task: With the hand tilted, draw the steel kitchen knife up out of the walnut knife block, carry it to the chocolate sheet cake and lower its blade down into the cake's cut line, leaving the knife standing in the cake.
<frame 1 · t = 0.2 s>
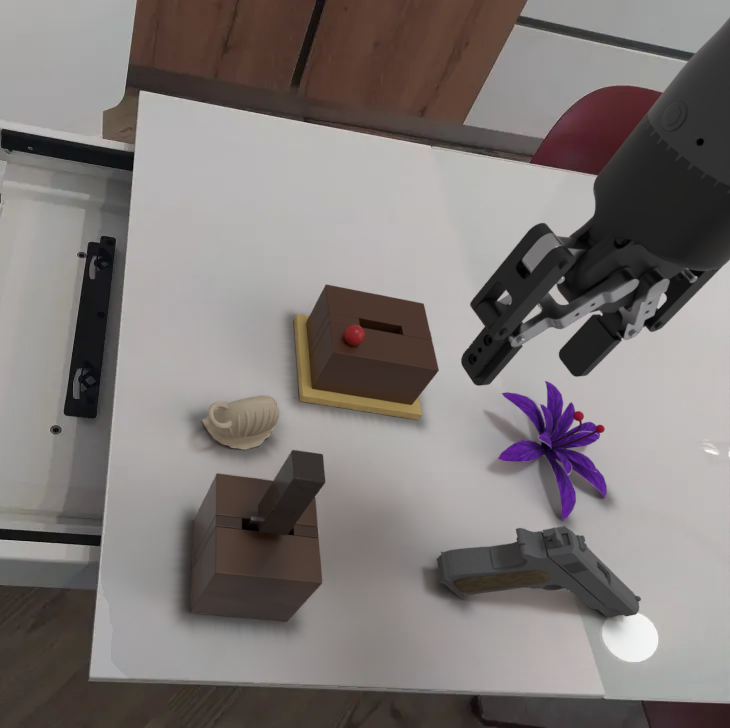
hand: (523, 370, 46), 26 cm above the table, tool pointing down, fingers open, 8 cm apart
decorative ornament: (234, 431, 69), on the table
handgun: (525, 595, 67), on the table
knife: (270, 523, 55), in the knife block
decorative flower: (541, 456, 79), on the table
cake: (354, 368, 79), on the table
knife block: (239, 569, 61), on the table
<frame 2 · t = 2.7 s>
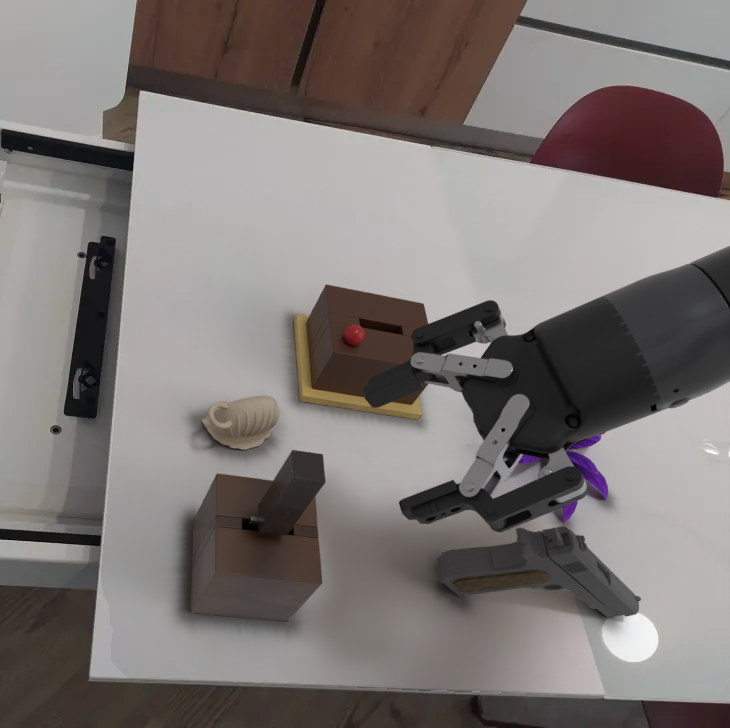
hand: (384, 452, 49), 18 cm above the table, tool tilted 45°, fingers open, 8 cm apart
nothing on the table moved.
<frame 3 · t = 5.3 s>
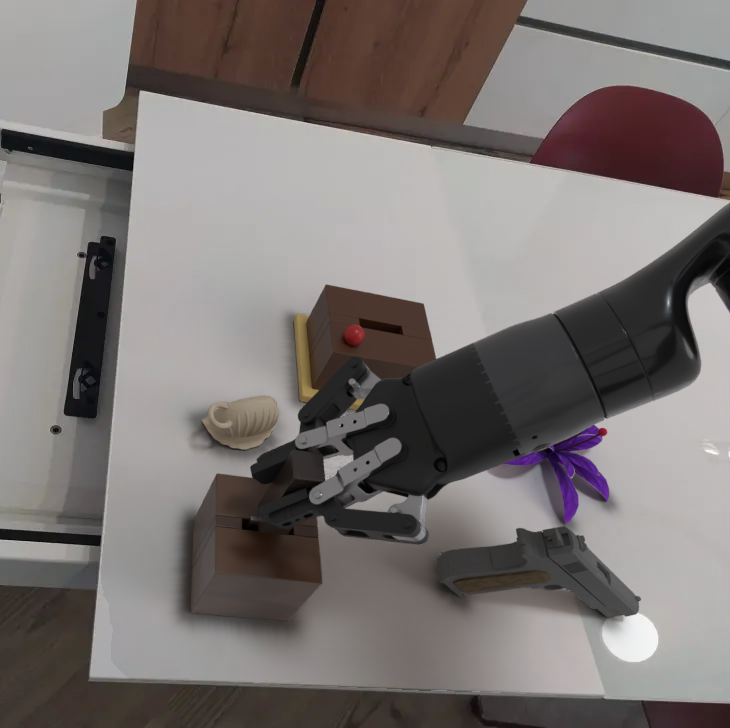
hand: (261, 496, 50), 13 cm above the table, tool tilted 45°, fingers closed on knife, 2 cm apart
knife: (270, 523, 55), in the knife block, touching gripper
everything else where it was.
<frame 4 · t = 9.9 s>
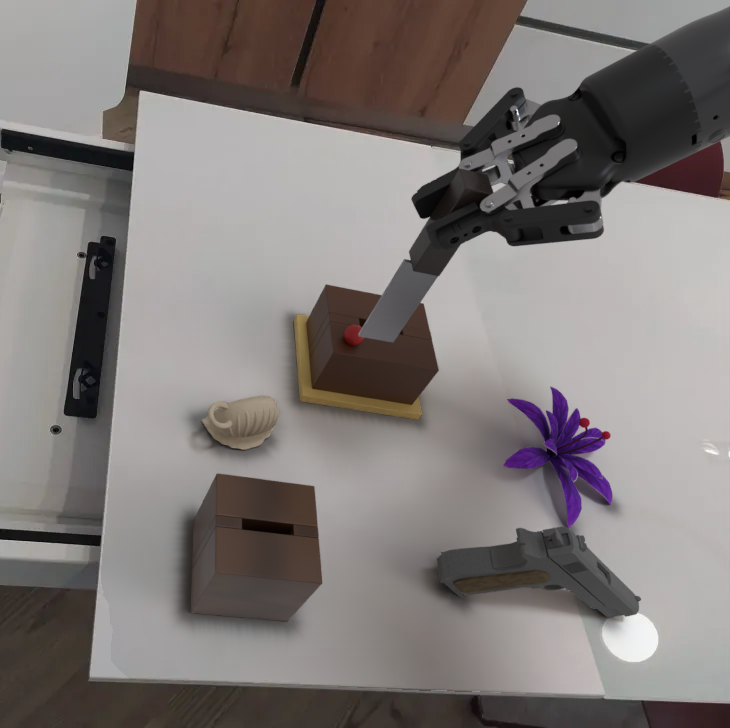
hand: (423, 223, 52), 26 cm above the table, tool tilted 45°, fingers closed on knife, 2 cm apart
knife: (420, 268, 56), point 22 cm above the table, touching gripper
everything else where it was.
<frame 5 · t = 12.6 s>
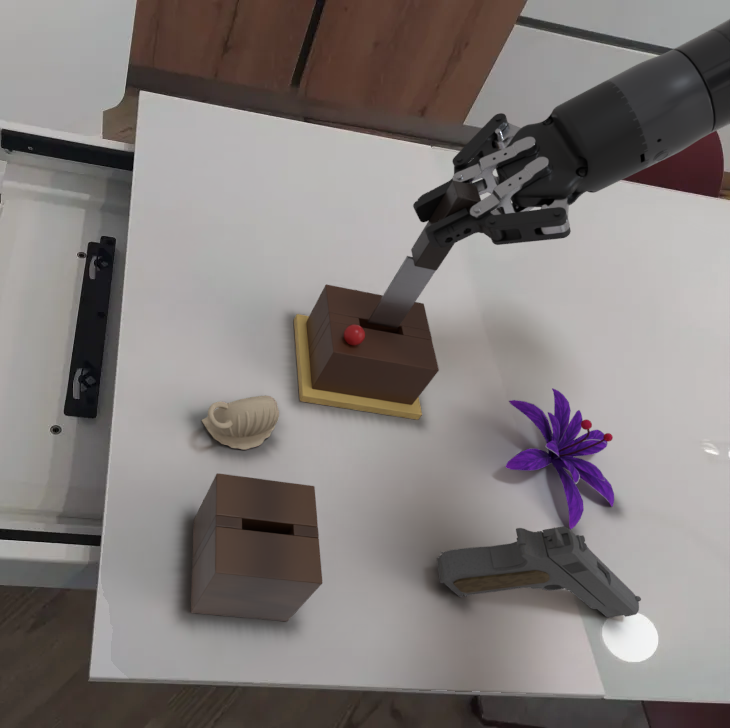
hand: (423, 226, 63), 20 cm above the table, tool tilted 45°, fingers closed on knife, 2 cm apart
knife: (421, 264, 67), point 16 cm above the table, touching gripper
when the fingers open (14 cm above the table, at t = 14.5 s): knife stays where it is, resting on cake.
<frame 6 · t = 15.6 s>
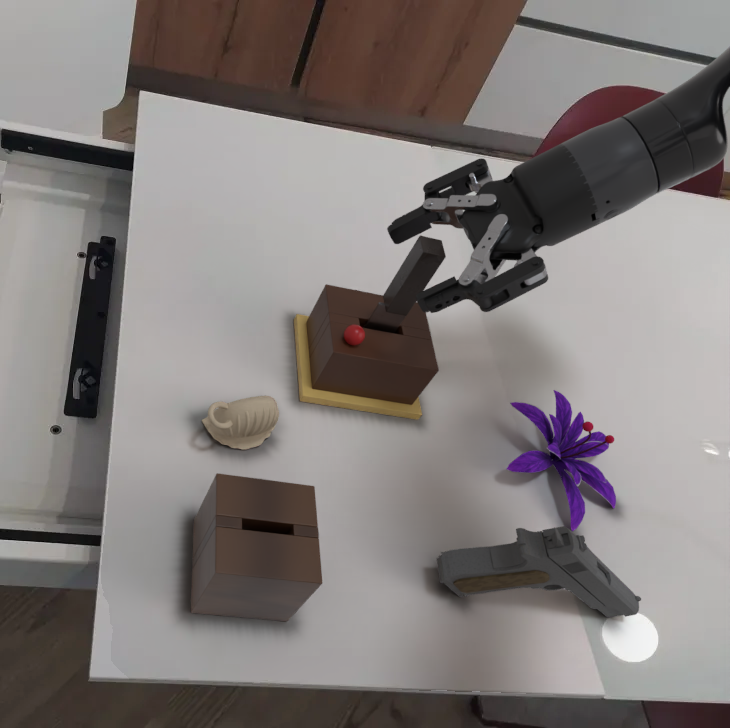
hand: (404, 269, 67), 15 cm above the table, tool tilted 45°, fingers open, 8 cm apart
knife: (392, 309, 71), point 10 cm above the table, touching cake
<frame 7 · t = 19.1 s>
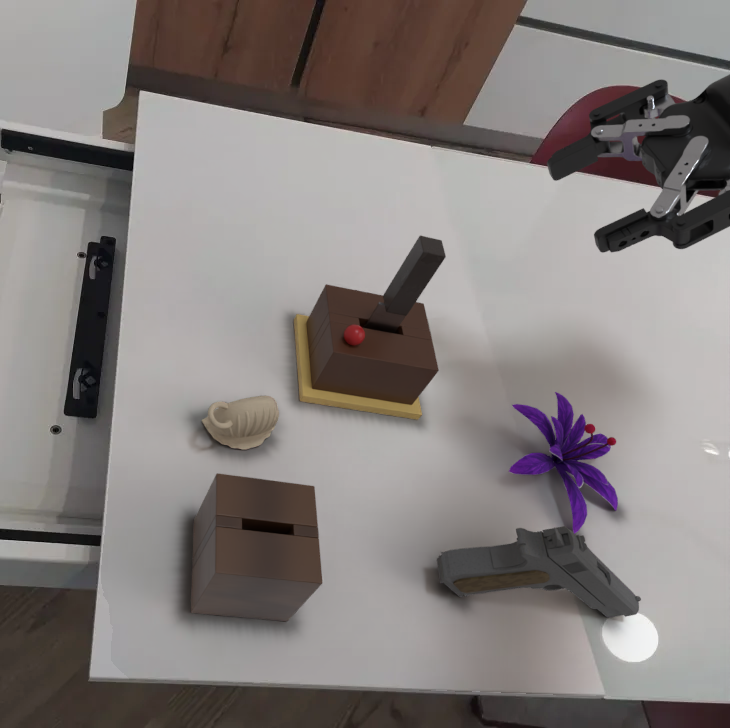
hand: (572, 205, 58), 27 cm above the table, tool tilted 45°, fingers open, 8 cm apart
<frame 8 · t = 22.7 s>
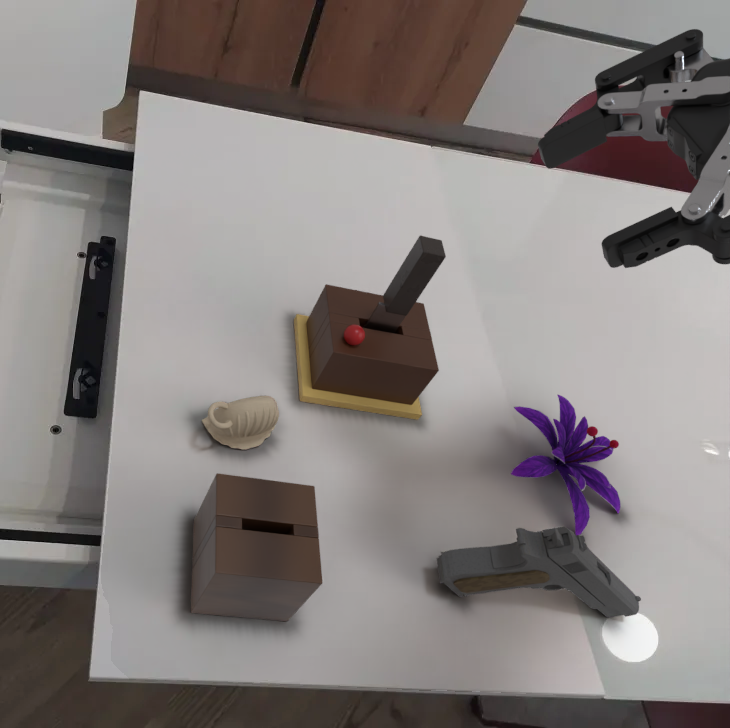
hand: (572, 203, 43), 35 cm above the table, tool tilted 45°, fingers open, 8 cm apart
at the end: knife 0.1 cm off-centre on the cake, point 9.5 cm above the cake's base; knife tilted 0°; the gripper is holding nothing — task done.
